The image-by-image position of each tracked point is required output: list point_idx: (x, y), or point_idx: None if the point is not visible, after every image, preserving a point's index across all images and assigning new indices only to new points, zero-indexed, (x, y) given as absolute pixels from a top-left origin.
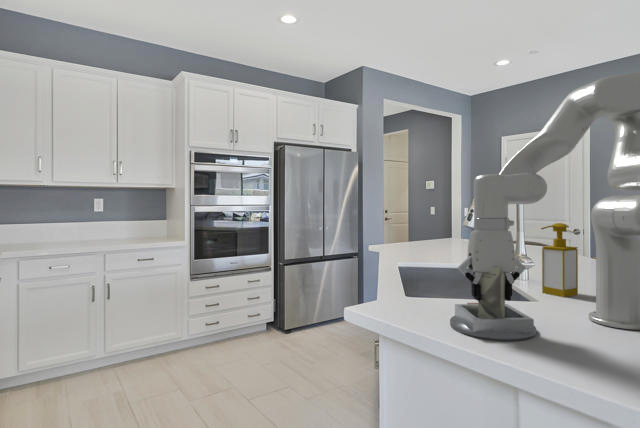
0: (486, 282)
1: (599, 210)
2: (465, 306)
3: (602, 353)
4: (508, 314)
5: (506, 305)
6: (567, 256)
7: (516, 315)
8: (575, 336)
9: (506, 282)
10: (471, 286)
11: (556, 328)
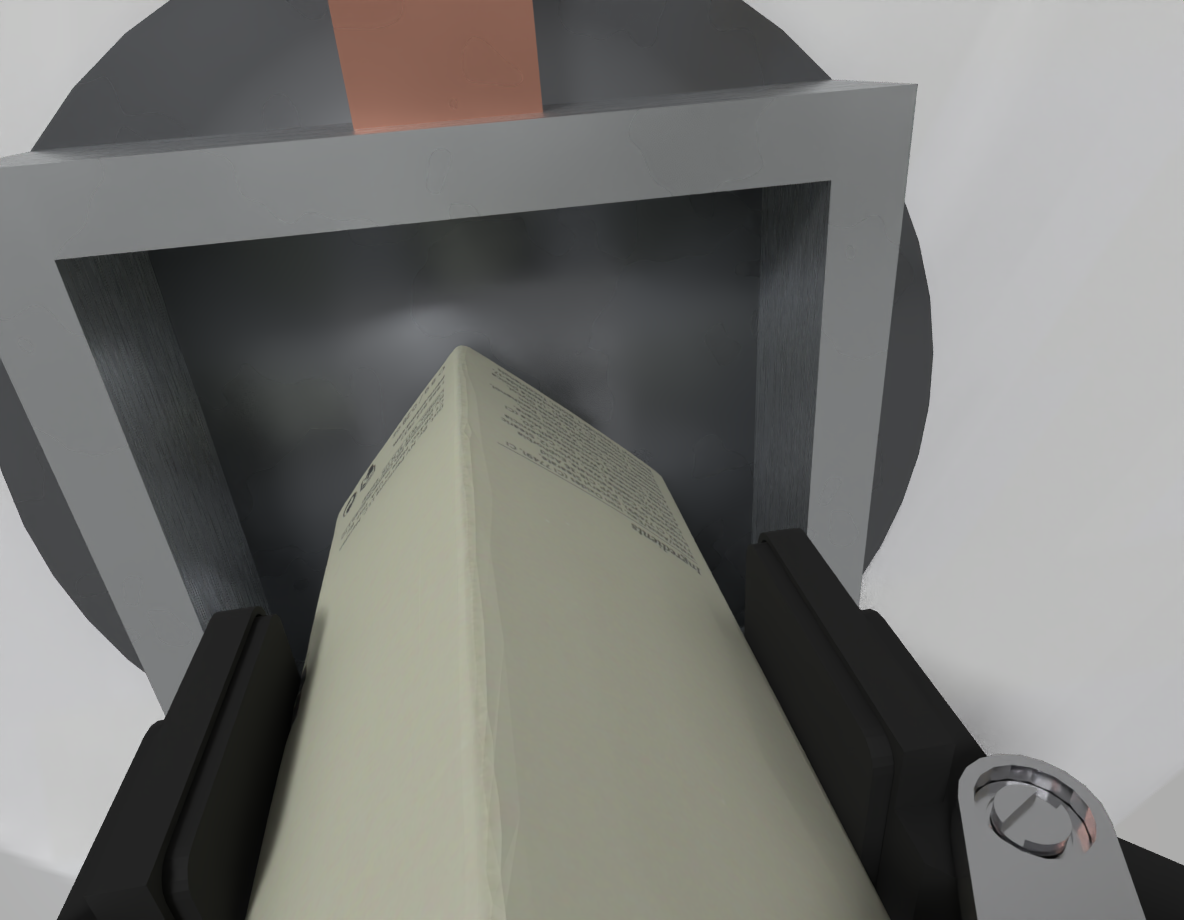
0: None
1: None
2: (151, 244)
3: None
4: (782, 302)
5: (859, 190)
6: None
7: (791, 527)
8: (1104, 561)
9: (890, 911)
10: (84, 862)
11: (1121, 378)
